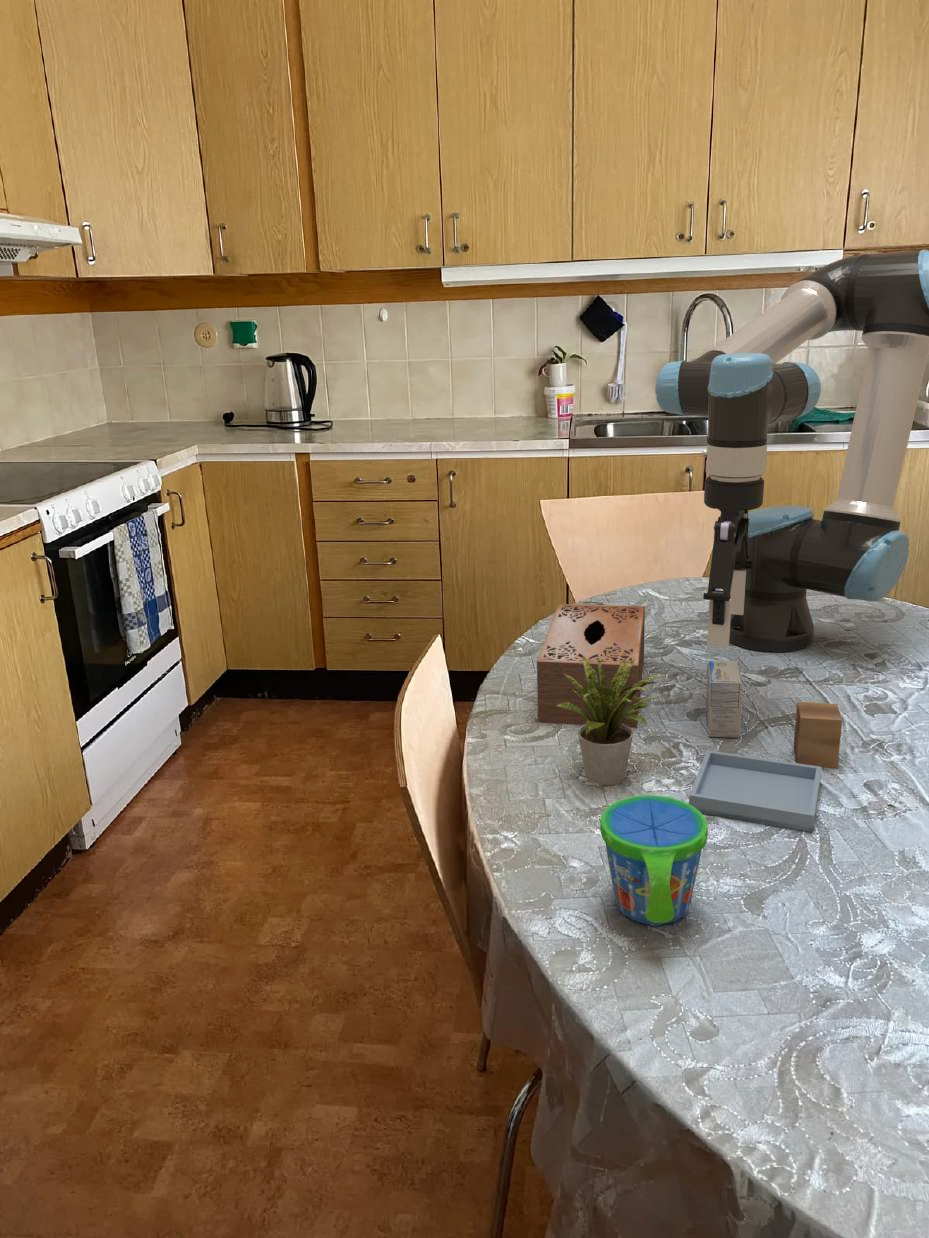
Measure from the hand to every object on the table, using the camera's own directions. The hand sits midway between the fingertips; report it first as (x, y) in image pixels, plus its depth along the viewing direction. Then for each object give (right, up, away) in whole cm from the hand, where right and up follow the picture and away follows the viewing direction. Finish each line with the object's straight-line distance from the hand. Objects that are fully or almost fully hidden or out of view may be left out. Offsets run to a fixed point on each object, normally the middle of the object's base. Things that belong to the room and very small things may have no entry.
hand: (726, 629), depth 130 cm
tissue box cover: (-16, -10, +19) cm, 27 cm away
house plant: (-18, -20, -8) cm, 28 cm away
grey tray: (0, -21, -13) cm, 25 cm away
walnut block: (+10, -17, -5) cm, 21 cm away
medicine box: (+1, -14, +5) cm, 15 cm away
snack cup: (-17, -28, -33) cm, 46 cm away
